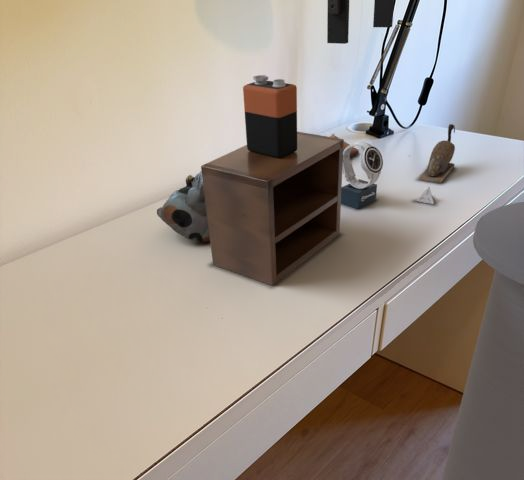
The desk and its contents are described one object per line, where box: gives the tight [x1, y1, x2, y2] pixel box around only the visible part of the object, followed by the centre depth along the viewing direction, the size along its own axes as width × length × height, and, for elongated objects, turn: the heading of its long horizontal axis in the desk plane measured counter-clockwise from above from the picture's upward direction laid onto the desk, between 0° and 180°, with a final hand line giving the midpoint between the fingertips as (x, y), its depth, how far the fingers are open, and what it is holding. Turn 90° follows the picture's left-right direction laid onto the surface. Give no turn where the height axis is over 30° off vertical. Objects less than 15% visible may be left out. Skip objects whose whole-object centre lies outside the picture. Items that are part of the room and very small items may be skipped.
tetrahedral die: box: [416, 186, 435, 205], centre depth 101 cm, size 4×3×3 cm
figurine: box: [419, 123, 456, 184], centre depth 110 cm, size 14×4×9 cm, turn 149°
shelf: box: [200, 131, 345, 286], centre depth 84 cm, size 12×20×16 cm, turn 143°
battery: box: [242, 74, 298, 158], centre depth 76 cm, size 4×7×10 cm, turn 48°
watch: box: [341, 141, 384, 210], centre depth 99 cm, size 6×8×11 cm
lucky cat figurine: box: [156, 170, 210, 243], centre depth 93 cm, size 15×12×14 cm
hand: (361, 34), depth 74 cm, fingers open, 13 cm apart
